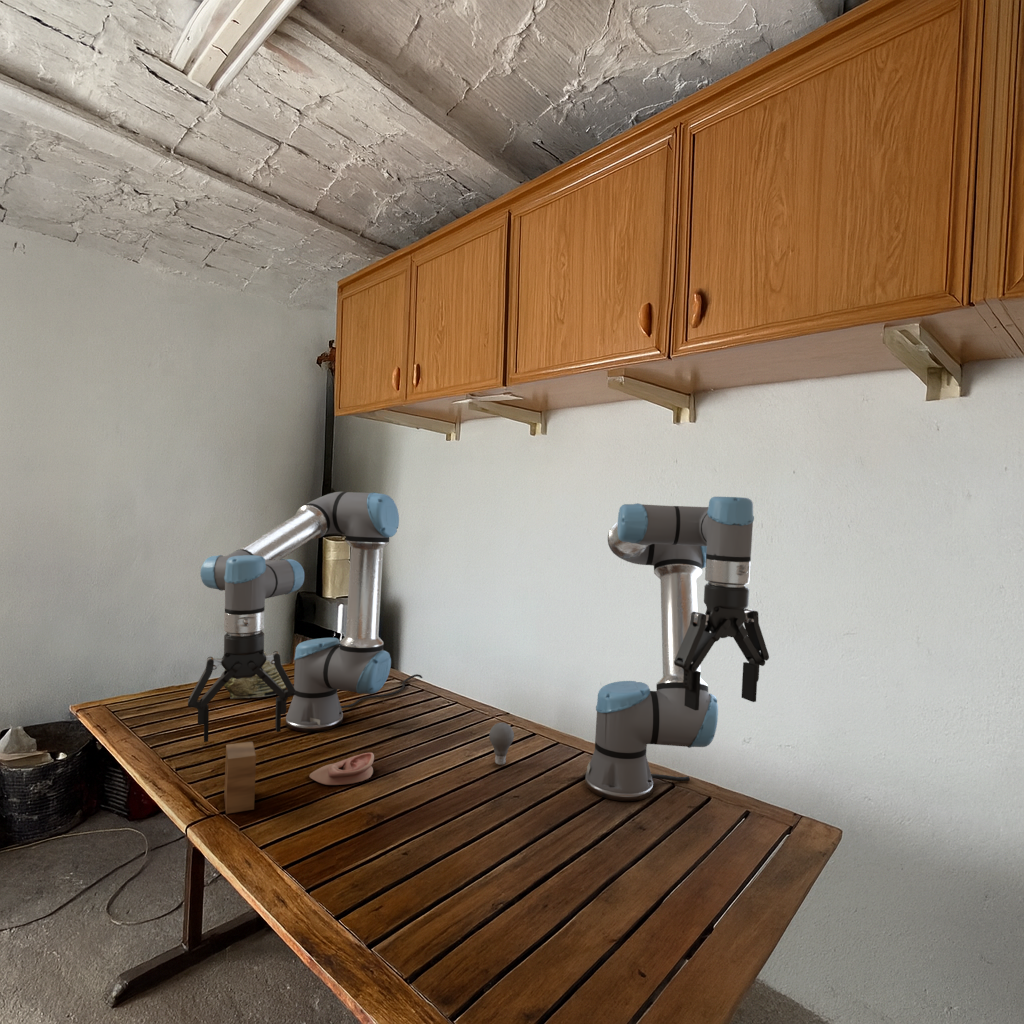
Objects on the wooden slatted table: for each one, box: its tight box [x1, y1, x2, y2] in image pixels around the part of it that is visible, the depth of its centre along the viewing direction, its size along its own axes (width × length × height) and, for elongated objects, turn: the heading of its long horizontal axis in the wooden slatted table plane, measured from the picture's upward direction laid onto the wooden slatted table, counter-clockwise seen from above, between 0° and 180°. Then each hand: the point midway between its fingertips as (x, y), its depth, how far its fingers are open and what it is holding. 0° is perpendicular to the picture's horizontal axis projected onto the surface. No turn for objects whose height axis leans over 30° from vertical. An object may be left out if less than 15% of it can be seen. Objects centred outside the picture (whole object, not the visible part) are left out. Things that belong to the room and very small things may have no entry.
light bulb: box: [488, 722, 515, 766], centre depth 154 cm, size 6×6×10 cm
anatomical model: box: [308, 751, 375, 786], centre depth 144 cm, size 13×4×12 cm
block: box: [223, 741, 257, 815], centre depth 129 cm, size 8×5×11 cm
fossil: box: [223, 651, 287, 699], centre depth 198 cm, size 9×18×15 cm, turn 132°
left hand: (242, 734), depth 130 cm, fingers open, 13 cm apart
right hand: (720, 703), depth 112 cm, fingers open, 13 cm apart
